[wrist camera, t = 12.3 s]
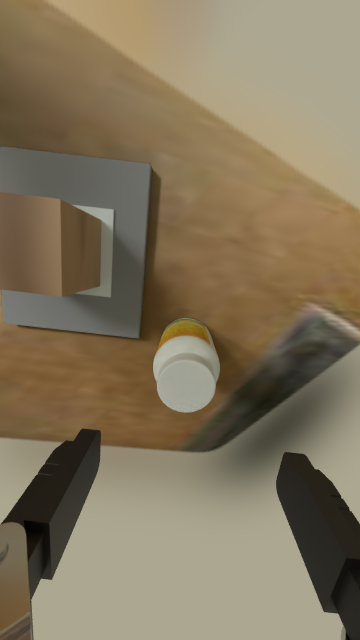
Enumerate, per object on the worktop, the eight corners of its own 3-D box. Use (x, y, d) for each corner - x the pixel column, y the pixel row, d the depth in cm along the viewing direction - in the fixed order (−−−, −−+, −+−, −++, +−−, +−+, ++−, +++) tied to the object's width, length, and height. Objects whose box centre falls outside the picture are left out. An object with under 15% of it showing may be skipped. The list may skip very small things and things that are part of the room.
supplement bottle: (220, 347, 24) (241, 398, 15) (179, 371, 25) (176, 435, 16) (193, 306, 23) (198, 335, 14) (151, 333, 24) (131, 377, 15)
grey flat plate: (11, 320, 24) (2, 323, 23) (-3, 150, 20) (-14, 143, 19) (140, 335, 24) (138, 338, 23) (152, 168, 20) (150, 162, 19)
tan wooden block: (38, 279, 22) (-28, 286, 15) (35, 212, 20) (-39, 187, 14) (100, 286, 22) (62, 296, 15) (101, 220, 20) (60, 198, 14)
